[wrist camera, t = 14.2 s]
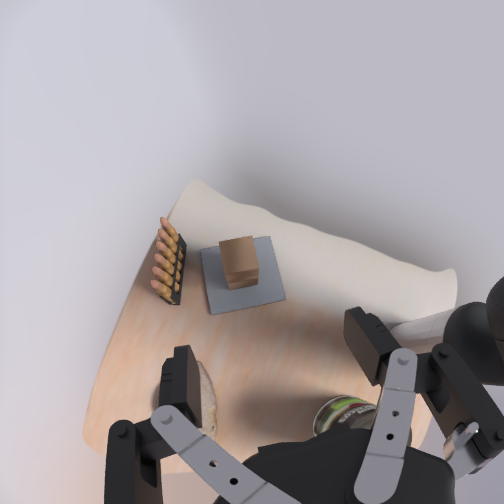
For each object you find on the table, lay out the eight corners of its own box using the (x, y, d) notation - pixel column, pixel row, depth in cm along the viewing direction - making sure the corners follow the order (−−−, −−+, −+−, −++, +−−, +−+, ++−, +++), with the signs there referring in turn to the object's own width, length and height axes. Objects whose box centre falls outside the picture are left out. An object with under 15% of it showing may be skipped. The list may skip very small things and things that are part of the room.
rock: (222, 363, 42) (165, 358, 44) (215, 361, 39) (154, 355, 40) (217, 452, 36) (160, 442, 37) (210, 458, 32) (148, 446, 33)
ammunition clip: (176, 243, 48) (156, 211, 37) (186, 244, 48) (168, 211, 37) (169, 304, 45) (143, 287, 34) (179, 305, 45) (156, 288, 33)
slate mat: (269, 237, 49) (269, 235, 48) (285, 299, 45) (286, 298, 44) (200, 251, 48) (200, 250, 47) (212, 315, 44) (211, 314, 43)
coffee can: (308, 402, 39) (332, 422, 26) (368, 388, 40) (411, 398, 26) (314, 457, 36) (337, 492, 23) (372, 442, 36) (412, 466, 23)
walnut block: (252, 258, 47) (252, 235, 38) (257, 284, 45) (259, 267, 36) (225, 263, 46) (218, 241, 37) (229, 290, 45) (224, 274, 36)
